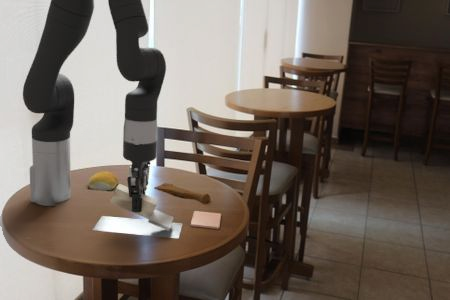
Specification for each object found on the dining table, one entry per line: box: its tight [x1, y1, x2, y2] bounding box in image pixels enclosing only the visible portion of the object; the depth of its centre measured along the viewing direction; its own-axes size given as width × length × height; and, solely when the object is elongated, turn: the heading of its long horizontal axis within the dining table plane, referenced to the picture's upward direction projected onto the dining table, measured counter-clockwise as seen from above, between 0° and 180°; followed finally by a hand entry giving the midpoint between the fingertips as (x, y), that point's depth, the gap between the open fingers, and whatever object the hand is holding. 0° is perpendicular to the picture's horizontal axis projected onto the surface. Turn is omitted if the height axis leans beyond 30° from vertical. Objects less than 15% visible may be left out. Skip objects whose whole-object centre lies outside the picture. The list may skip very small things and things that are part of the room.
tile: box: [190, 210, 222, 230], centre depth 118 cm, size 2×8×7 cm
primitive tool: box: [153, 182, 211, 204], centre depth 135 cm, size 19×6×4 cm, turn 54°
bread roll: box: [87, 171, 119, 192], centre depth 137 cm, size 8×9×4 cm
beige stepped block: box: [109, 183, 174, 231], centre depth 110 cm, size 15×6×4 cm, turn 88°
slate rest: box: [92, 215, 184, 240], centre depth 111 cm, size 20×8×1 cm, turn 88°
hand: (138, 208), depth 110 cm, fingers closed on beige stepped block, 3 cm apart
